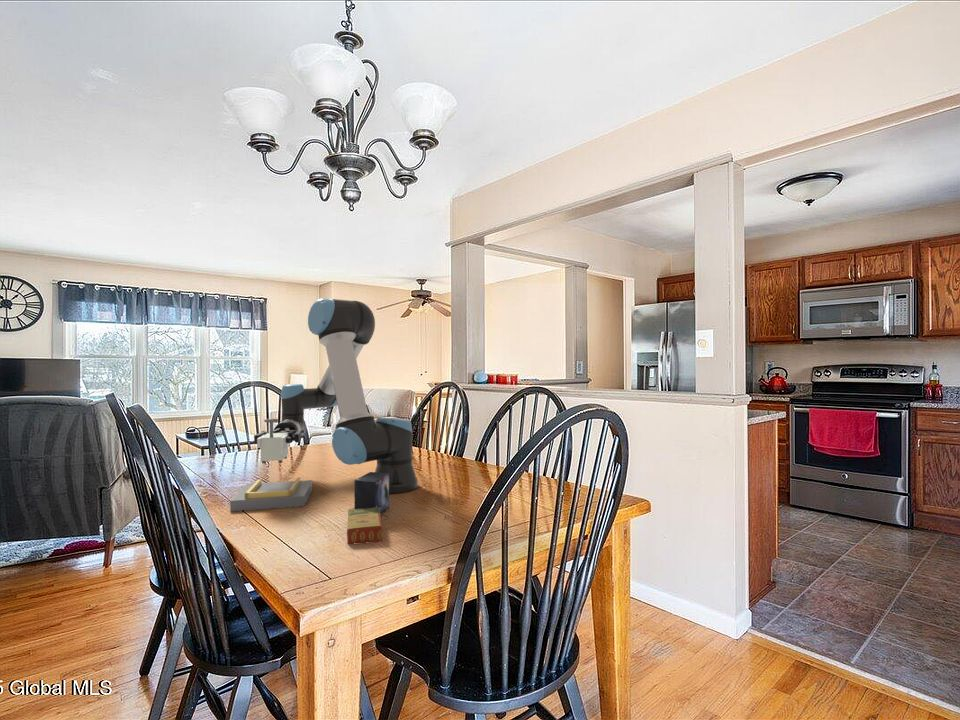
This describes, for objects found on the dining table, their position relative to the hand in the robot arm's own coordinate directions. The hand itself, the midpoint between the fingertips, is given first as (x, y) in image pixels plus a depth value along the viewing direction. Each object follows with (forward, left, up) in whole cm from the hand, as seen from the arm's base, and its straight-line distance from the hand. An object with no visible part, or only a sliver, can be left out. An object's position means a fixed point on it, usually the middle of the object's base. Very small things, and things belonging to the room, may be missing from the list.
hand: (270, 442), depth 155 cm
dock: (+2, -3, -18) cm, 18 cm away
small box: (-34, -9, -18) cm, 39 cm away
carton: (-43, +3, -19) cm, 47 cm away
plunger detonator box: (+4, -4, -6) cm, 8 cm away
